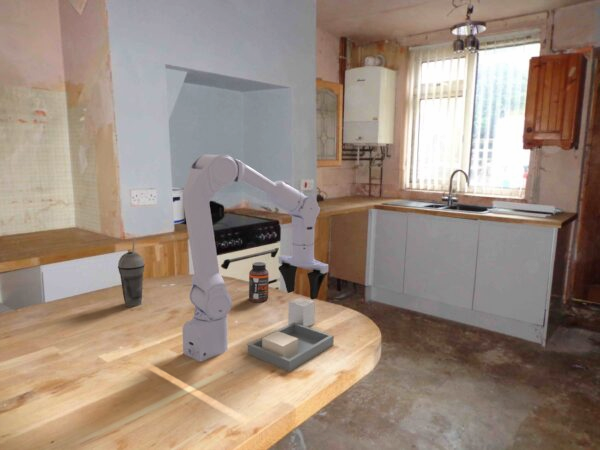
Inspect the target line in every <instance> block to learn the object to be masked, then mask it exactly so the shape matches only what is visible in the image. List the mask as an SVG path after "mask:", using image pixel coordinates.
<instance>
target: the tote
mask: <svg viewBox="0 0 600 450" xmlns="http://www.w3.org/2000/svg"><path fill="white" fill-rule="evenodd" d="M276 331H279V332H282V333H285V334H287V335H290V336H293V337H296V338H298V354H297V355H295V356H293V357H291V358H290V359H288V358H286V357H283V356H281V355H278V354H276V353H273V352H271V351H268V350H266V349H263V348H262V338H264V337H266V336H268V335H270V334H272V333H274V332H276ZM334 341H335V340H334V335H333V334H330V333H326V332H323V331H321V330H318V329H314V328H312V327H310V326H309V327H306V326H303V325H300V324H297V323H294V322H293V323H291V324H289V325H288V324H287V325H285V326H283V327H281V328H279V329H277V330H274V331H272V332H271V333H269V334H266V335H265V336H261V337H260V338H258V339H256V340H254V341H251V342H250V343H248V344H247V354H248V355H249V356H252V357H254V358H256V359H259V360H261V361H263V362H266V363H268V364H271V365H272V366H274V367H277V368H279V369H282V370H284V371H286V372H289V373H290V372H291V371H293V370H296V369H297V368H299V367H300V366H301V365H303V364H305V363H306V362H308V361H310V360H311V359H313V358H315V357H316V356H318V355H320V354H321V353H322V352H324V351H326V350H328V349H329V348H330V347H332V346H334Z"/></svg>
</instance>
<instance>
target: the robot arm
mask: <svg viewBox="0 0 600 450" xmlns="http://www.w3.org/2000/svg"><path fill="white" fill-rule="evenodd" d="M240 182H241V183H243V184H245V185H247V186H248V187H251V188H252V189H255V190H257V191H259V192H261V193H263V194H265V195H266V199H267V201H268V203H270V204H272V205H274V206H276V207H277V208H280V209H281V210H284V211H285V212H287V213H288V215H289V216H290V217H291V246H290V247H291V254H290V255H285V254H282V255H278V264H280V265H279V266H278V270H279V273H280V274H281V276H282V279H283V281H284V284H285V288H286V292H287V293H289V294H290V293H293V292H294V291H295V289H296V288H295V286H296V275H297V269H298V268H301V269H306V270H310V272H307V277H308V282H309V283H308V284H309V296H310V300H312V301H314V300H315V299H317V298H319V297H318V296H319V292H320V290H321V286H322V284H323V282H324V280H325V278H326V276H327V275H328V273H329V264H328V263H324V262H321V261H320V260H317V259H316V258H315V232H316V231H315V227H316V224H317V217H318V216H319V215H320V212H321V207H319V203H318V201H317V199H315V197H313V196H307V195H305V194H304V190H301V189H296V188H295V187H293V186H291V185H290V182H289V181H288V180H285V179H283V180H276V181H272V180H270V178H267V177H266V176H265V175H263V174H261V173H260V172H258V171H257V170H255V169H254V168H252V167H250V166H249V165H247V164H246V163H244V162H243V161H241V160H239V159H236V158H233V157H232V156H230V155H228V154H211V153H205V154H201V155H199V156H198V157H197V158H195V160H194V161H193V162H192V163H191V164H190V165H189V174H188V176H187V179H186V182H185V184H184V188H183V191H182V193H181V194H182V198H181V199H182V203H183V208H184V209H183V210H184V217H185V221H186V222H185V223H186V229H187V235H188V240H189V241H188V242H189V247H190V254H191V260H192V266H193V272H194V273H193V276H192V277H191V279H190V282H191V288H190V291H189V300H190V302H191V304H192V305H194V311H193V316H192V318H191V319H190V320H188V321H186V322H185V323H184V324H183V327H182V352H183V353H182V354H184V356H187V357H189V358H191V359H194V360H196V361H197V362H203V361H206V360H208V359H210V358H213V357H216V356H220V355H222V354H225V353H226V352H227V350H228V314H229V312H230V311H231V310H232V309H231V308H232V306H233V299H232V296H231V294H230V293H229V292H228V290H227V285H226V282H225V281H224V278H223V277H222V275H221V273H220V267H219V261H218V255H217V247H216V241H215V232H214V225H213V219H212V213H211V207H210V205H211V204H210V202H211V200H212V199H213V198H214V197H215V196H216V195H217V193H219V192H220V191H222V190H223V189H225V188H226V187H228V186H229V185H231V184H232V183H240Z"/></svg>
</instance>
